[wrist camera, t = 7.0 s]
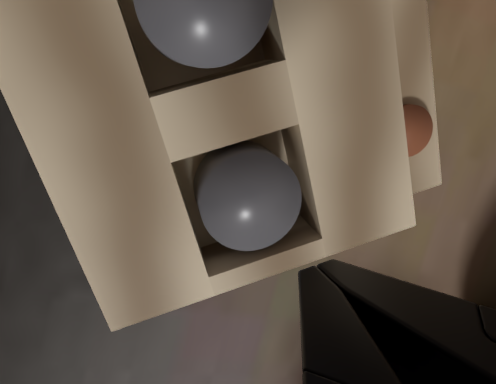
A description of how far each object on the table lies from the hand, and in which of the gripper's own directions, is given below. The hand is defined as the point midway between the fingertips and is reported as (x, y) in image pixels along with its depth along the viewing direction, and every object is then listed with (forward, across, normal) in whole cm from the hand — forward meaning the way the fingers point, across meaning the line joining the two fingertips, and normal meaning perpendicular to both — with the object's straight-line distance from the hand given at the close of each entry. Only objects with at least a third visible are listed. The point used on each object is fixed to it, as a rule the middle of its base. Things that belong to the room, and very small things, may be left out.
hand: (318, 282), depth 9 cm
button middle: (+6, 0, -6) cm, 9 cm away
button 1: (+8, 0, 0) cm, 8 cm away
